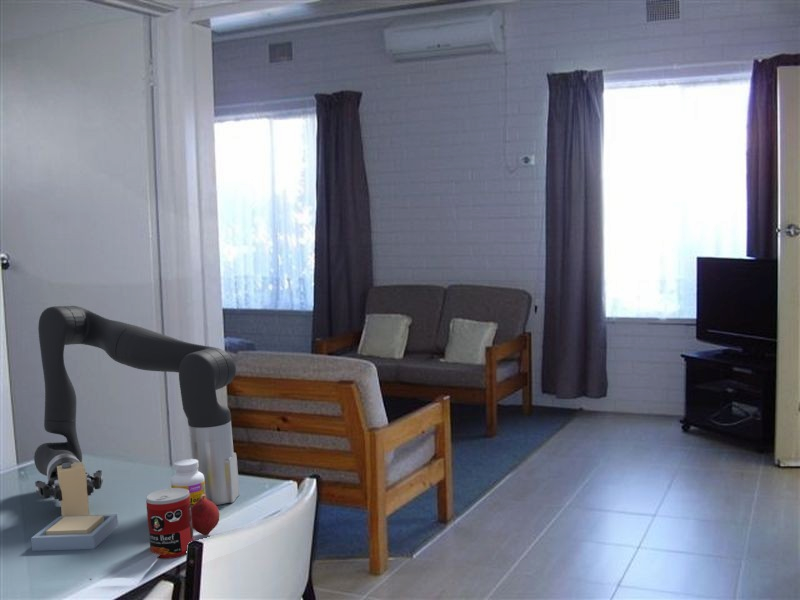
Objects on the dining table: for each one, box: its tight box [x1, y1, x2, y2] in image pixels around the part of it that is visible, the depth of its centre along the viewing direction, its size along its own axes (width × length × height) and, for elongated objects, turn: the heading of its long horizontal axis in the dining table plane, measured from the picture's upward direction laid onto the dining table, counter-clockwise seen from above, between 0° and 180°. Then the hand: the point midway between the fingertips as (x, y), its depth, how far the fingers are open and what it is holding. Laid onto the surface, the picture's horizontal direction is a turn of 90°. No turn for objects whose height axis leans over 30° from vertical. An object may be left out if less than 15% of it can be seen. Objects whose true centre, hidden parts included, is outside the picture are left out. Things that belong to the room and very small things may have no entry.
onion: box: [191, 495, 220, 536], centre depth 174 cm, size 6×6×8 cm
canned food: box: [145, 487, 194, 560], centre depth 166 cm, size 8×8×11 cm
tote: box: [30, 513, 119, 552], centre depth 174 cm, size 12×12×4 cm
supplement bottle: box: [170, 458, 206, 508], centre depth 181 cm, size 7×7×13 cm
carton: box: [57, 461, 91, 516], centre depth 185 cm, size 5×5×13 cm
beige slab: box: [46, 514, 104, 536], centre depth 174 cm, size 8×8×3 cm
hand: (74, 493), depth 183 cm, fingers closed on carton, 5 cm apart
